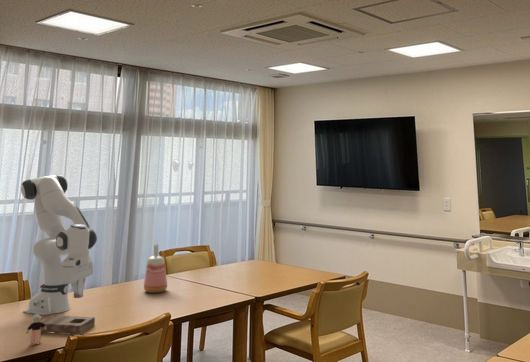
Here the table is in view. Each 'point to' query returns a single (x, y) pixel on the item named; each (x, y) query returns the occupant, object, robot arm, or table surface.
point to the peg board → (68, 324)
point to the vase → (155, 273)
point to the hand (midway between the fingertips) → (78, 289)
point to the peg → (79, 288)
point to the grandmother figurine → (36, 329)
